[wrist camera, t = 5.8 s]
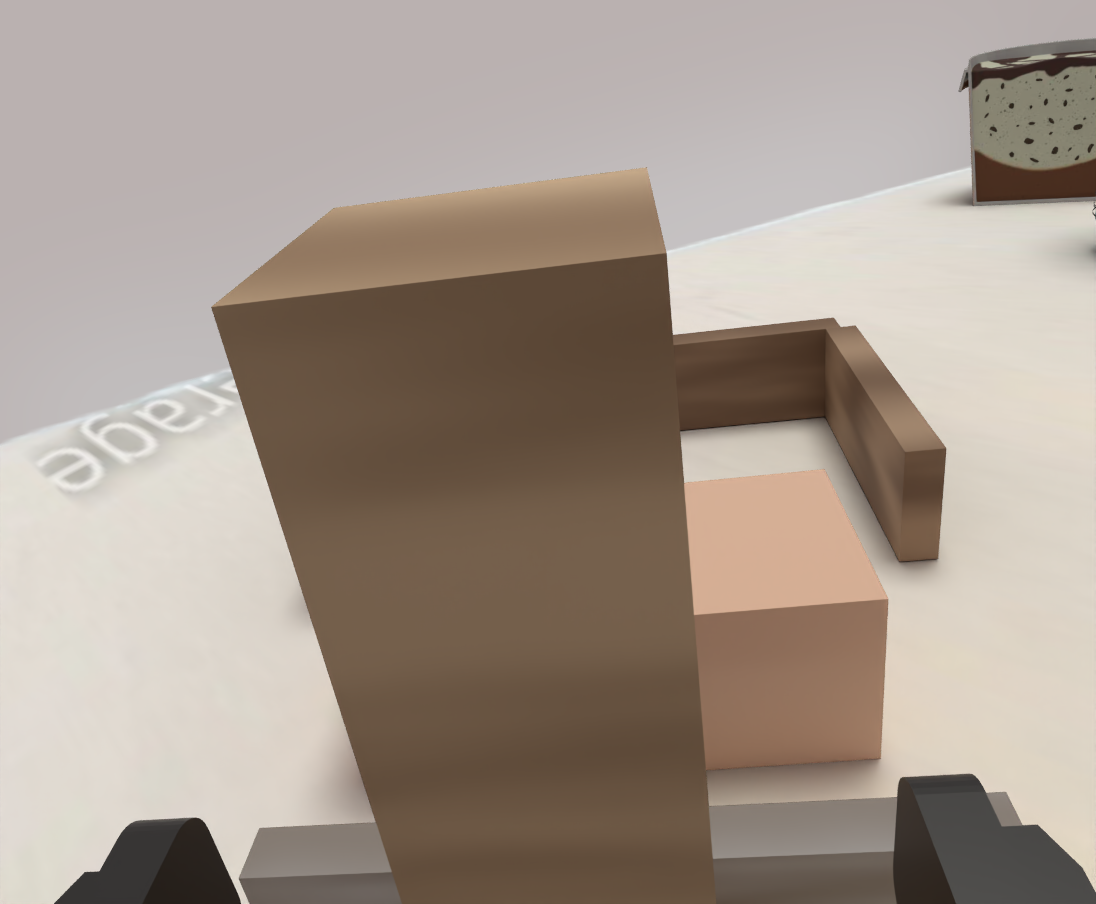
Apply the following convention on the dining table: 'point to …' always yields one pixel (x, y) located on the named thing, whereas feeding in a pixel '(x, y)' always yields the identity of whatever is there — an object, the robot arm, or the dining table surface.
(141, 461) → the dining table surface
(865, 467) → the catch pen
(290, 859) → the wooden post on base
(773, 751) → the tile
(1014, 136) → the food container
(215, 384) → the dining table surface
